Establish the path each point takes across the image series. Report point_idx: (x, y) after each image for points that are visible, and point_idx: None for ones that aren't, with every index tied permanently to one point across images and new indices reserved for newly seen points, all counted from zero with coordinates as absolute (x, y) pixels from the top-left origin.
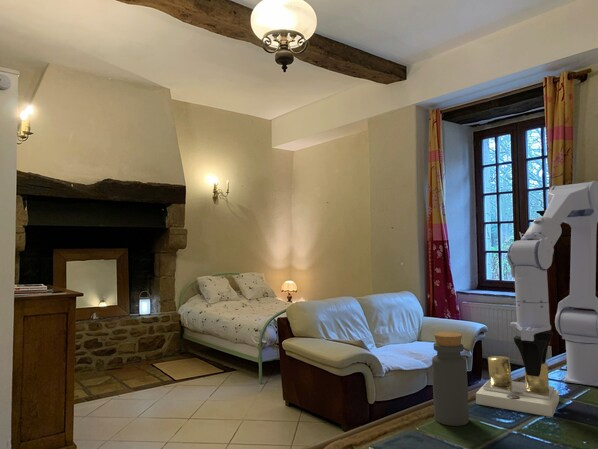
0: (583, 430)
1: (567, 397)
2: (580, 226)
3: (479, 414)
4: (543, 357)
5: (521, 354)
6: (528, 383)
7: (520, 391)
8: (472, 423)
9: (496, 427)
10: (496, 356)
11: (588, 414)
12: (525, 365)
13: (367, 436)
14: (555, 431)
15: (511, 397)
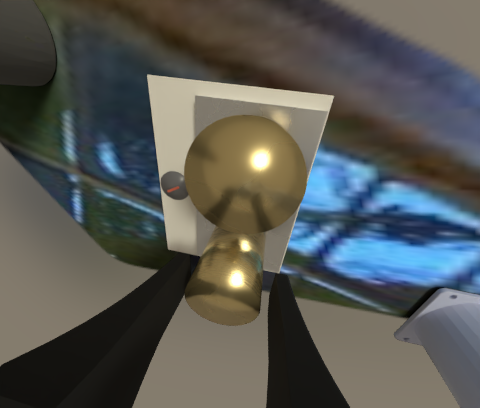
0: (150, 262)
1: (309, 271)
2: None
3: (101, 103)
4: (270, 340)
5: (109, 307)
6: (212, 235)
7: None
8: (43, 96)
9: (65, 148)
10: (297, 168)
11: None
12: (157, 275)
13: None
14: (121, 232)
15: (167, 182)
